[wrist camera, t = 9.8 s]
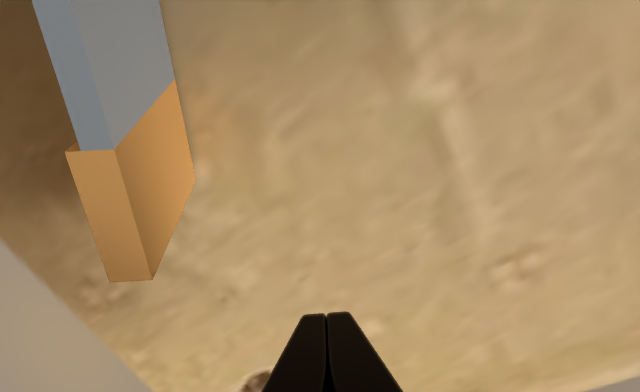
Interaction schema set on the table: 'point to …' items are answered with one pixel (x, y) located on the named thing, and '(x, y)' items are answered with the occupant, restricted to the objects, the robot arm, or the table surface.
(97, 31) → the side door
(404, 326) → the table surface
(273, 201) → the table surface
